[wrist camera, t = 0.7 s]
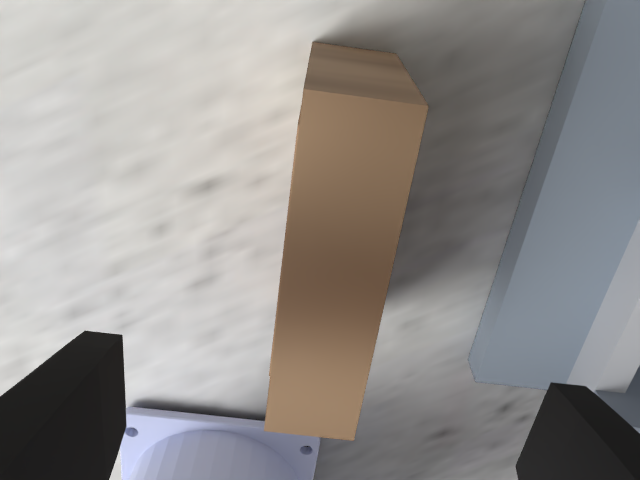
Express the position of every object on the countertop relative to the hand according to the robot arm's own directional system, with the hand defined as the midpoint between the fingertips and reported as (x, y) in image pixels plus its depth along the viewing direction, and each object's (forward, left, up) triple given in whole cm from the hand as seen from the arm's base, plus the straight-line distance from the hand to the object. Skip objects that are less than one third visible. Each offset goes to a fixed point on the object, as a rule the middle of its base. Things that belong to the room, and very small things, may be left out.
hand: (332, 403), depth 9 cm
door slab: (0, 0, -10) cm, 10 cm away
